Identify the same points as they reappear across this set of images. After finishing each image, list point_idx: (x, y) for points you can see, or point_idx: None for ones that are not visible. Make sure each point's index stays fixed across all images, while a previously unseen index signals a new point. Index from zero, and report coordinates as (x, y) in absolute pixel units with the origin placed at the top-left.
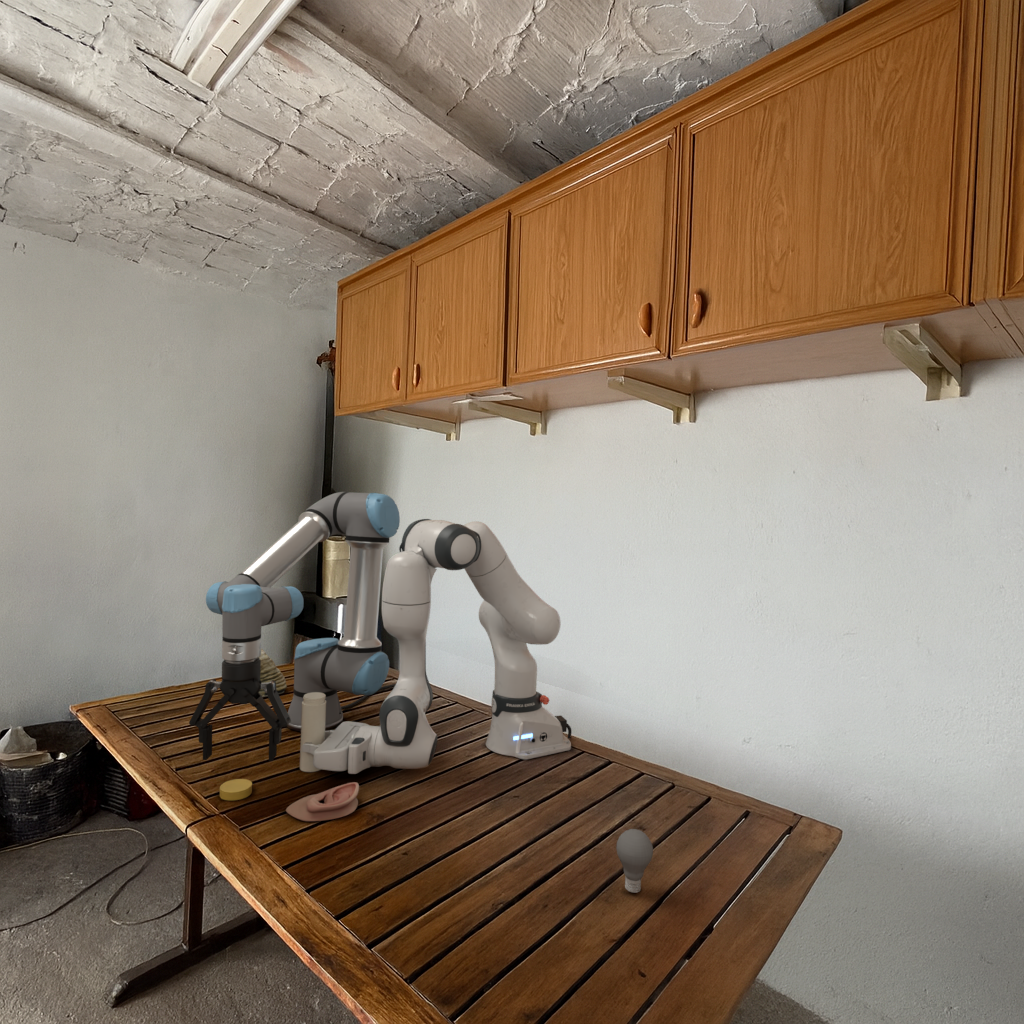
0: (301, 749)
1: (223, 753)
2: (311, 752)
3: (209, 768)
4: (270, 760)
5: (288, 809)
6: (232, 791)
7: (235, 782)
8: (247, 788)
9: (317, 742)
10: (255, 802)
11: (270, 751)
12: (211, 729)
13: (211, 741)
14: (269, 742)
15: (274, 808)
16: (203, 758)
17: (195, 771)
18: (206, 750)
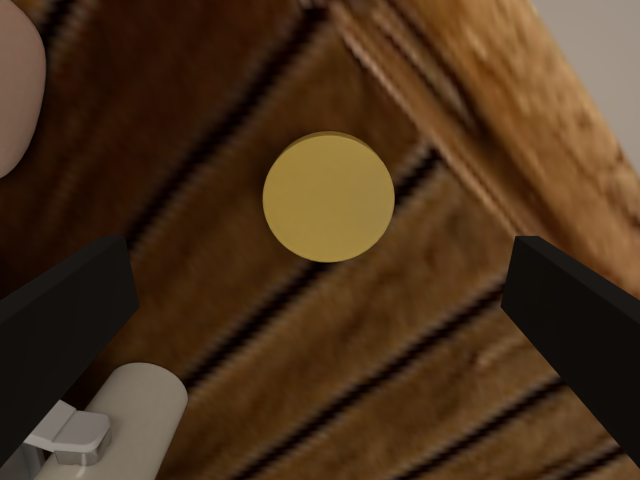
0: (138, 439)
1: (473, 462)
2: (58, 406)
3: (489, 372)
4: (111, 237)
5: (12, 17)
6: (321, 144)
7: (341, 229)
8: (268, 177)
9: (43, 468)
10: (218, 122)
11: (74, 262)
12: (628, 435)
13: (552, 355)
14: (31, 298)
15: (113, 69)
16: (539, 239)
17: (532, 351)
18: (552, 263)
